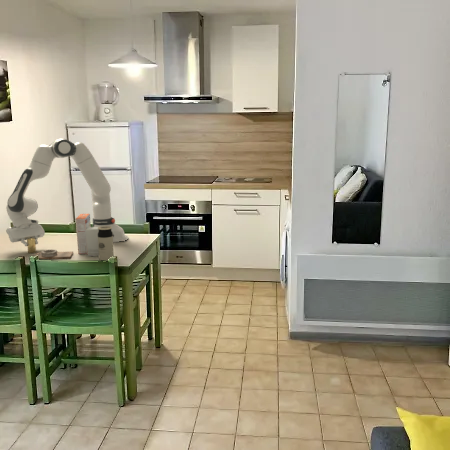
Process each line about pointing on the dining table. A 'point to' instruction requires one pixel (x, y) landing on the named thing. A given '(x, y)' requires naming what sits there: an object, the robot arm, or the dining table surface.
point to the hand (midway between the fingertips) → (32, 244)
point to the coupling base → (59, 255)
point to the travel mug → (105, 242)
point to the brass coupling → (31, 245)
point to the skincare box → (92, 241)
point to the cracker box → (82, 232)
